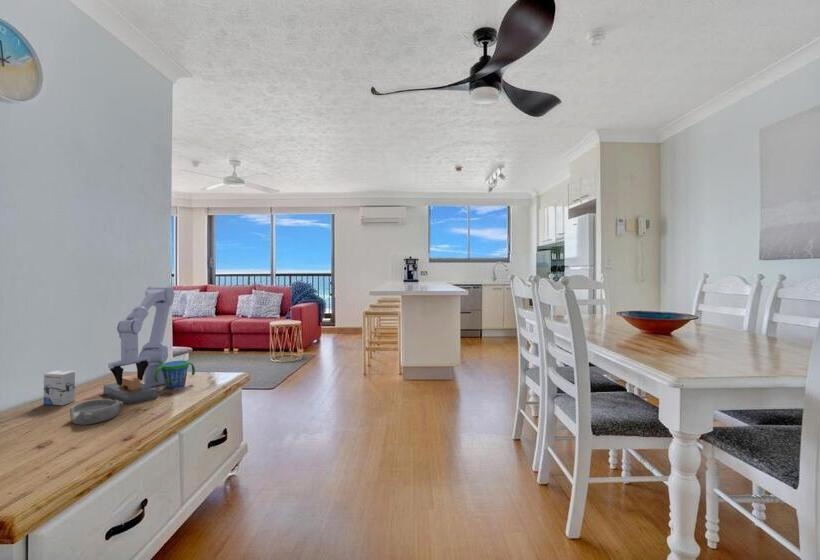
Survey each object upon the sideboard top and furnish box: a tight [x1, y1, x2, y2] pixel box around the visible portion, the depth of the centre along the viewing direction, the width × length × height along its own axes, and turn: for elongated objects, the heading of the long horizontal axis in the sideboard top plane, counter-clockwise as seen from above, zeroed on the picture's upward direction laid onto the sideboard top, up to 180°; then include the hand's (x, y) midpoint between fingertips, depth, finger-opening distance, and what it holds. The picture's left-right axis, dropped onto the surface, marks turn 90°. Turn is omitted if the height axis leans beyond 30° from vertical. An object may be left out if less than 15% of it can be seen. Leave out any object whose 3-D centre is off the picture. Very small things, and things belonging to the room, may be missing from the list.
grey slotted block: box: [103, 382, 158, 405], centre depth 160 cm, size 10×24×4 cm, turn 56°
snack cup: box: [154, 360, 196, 389], centre depth 173 cm, size 16×10×10 cm
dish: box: [69, 398, 124, 426], centre depth 136 cm, size 14×14×5 cm
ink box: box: [43, 370, 76, 406], centre depth 151 cm, size 9×5×12 cm, turn 84°
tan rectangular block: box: [120, 375, 141, 391], centre depth 160 cm, size 3×10×7 cm, turn 59°
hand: (130, 382), depth 160 cm, fingers open, 7 cm apart
